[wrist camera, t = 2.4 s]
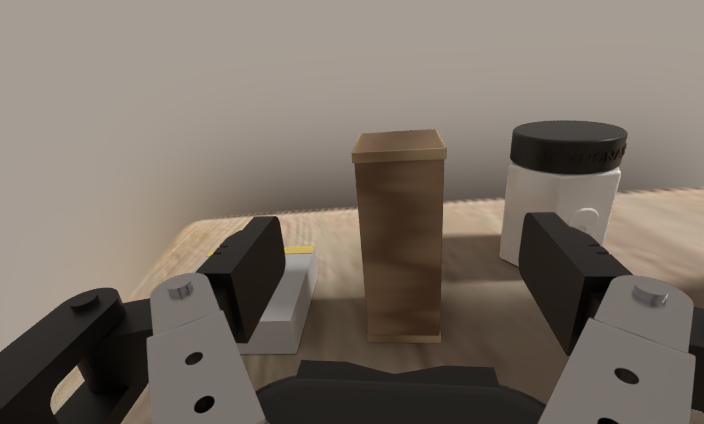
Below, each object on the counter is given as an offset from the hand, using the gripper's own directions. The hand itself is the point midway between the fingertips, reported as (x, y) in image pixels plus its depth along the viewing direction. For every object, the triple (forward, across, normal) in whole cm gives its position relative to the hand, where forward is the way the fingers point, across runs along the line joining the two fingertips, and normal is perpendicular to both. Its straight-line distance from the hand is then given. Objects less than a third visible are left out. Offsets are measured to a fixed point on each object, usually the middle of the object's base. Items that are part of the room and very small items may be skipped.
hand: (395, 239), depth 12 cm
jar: (+21, -14, +13) cm, 28 cm away
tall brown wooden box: (+12, 0, +13) cm, 18 cm away
